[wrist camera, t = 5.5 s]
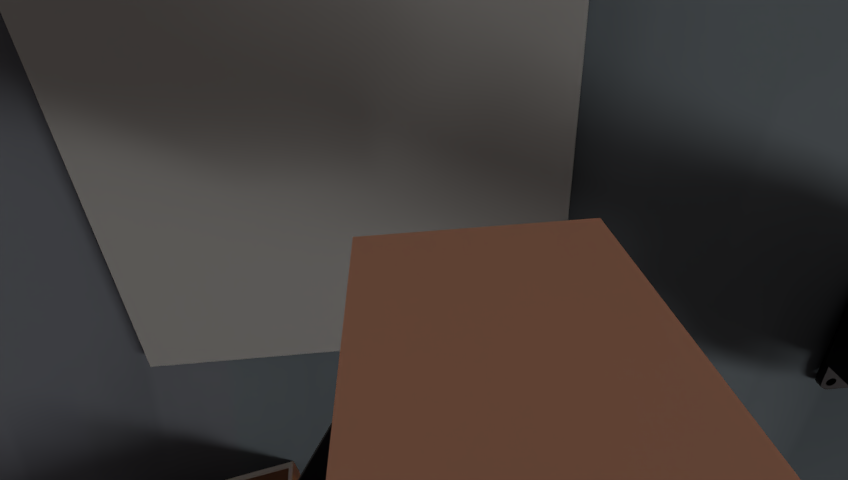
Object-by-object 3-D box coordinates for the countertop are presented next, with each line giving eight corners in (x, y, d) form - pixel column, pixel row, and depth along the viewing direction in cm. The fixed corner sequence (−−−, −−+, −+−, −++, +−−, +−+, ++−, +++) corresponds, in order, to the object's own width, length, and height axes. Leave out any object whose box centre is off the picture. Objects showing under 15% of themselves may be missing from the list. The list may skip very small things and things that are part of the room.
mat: (590, -88, 16) (597, -89, 15) (553, 323, 24) (557, 332, 24) (-13, -51, 15) (-27, -51, 15) (155, 357, 23) (150, 366, 23)
